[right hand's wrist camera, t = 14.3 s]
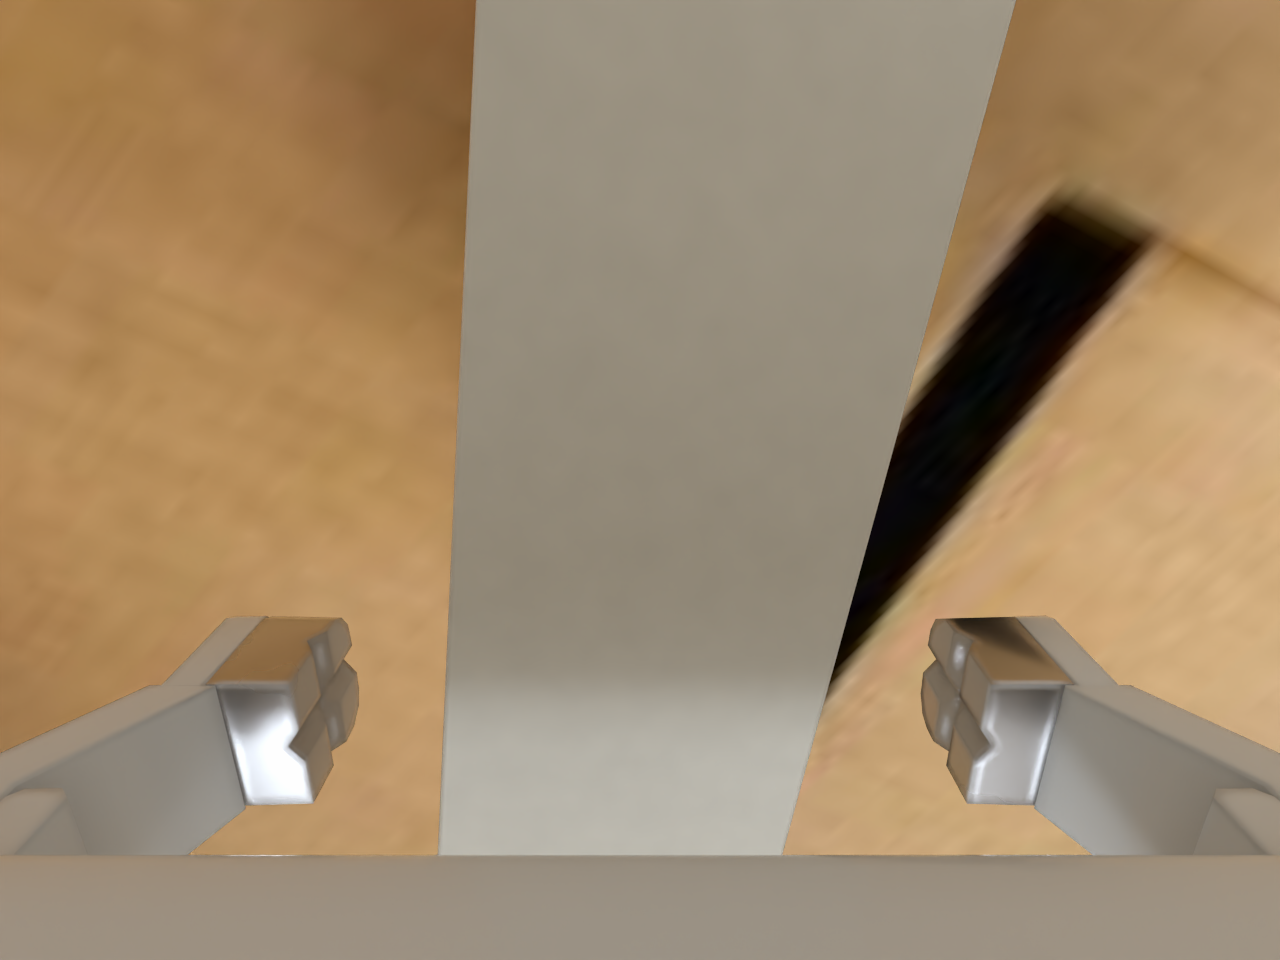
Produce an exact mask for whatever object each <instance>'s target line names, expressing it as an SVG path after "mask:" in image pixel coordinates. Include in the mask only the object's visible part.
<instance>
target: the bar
mask: <svg viewBox="0 0 1280 960" xmlns="http://www.w3.org/2000/svg"><path fill="white" fill-rule="evenodd" d="M1015 2H1016V0H476V12H475V35H474V57H473V79H472V102H471V124H470V146H469V168H468V191H467V213H466V235H465V258H464V280H463V302H462V325H461V347H460V369H459V391H458V414H457V436H456V458H455V481H454V503H453V525H452V548H451V570H450V592H449V614H448V637H447V659H446V681H445V704H444V726H443V748H442V771H441V793H440V815H439V837H438V855H782V854H783V850H784V846H785V843H786V839H787V835H788V832H789V828H790V824H791V821H792V817H793V813H794V810H795V806H796V803H797V799H798V795H799V792H800V788H801V784H802V781H803V777H804V773H805V770H806V766H807V762H808V759H809V755H810V751H811V748H812V744H813V740H814V737H815V733H816V729H817V726H818V722H819V718H820V715H821V711H822V708H823V704H824V700H825V697H826V693H827V689H828V686H829V682H830V678H831V675H832V671H833V667H834V664H835V660H836V656H837V653H838V649H839V645H840V642H841V638H842V634H843V631H844V627H845V623H846V620H847V616H848V613H849V609H850V605H851V602H852V598H853V594H854V591H855V587H856V583H857V580H858V576H859V572H860V569H861V565H862V561H863V558H864V554H865V550H866V547H867V543H868V539H869V536H870V532H871V528H872V525H873V521H874V517H875V514H876V510H877V507H878V503H879V499H880V496H881V492H882V488H883V485H884V481H885V477H886V474H887V470H888V466H889V463H890V459H891V455H892V452H893V448H894V444H895V441H896V437H897V433H898V430H899V426H900V422H901V419H902V415H903V412H904V408H905V404H906V401H907V397H908V393H909V390H910V386H911V382H912V379H913V375H914V371H915V368H916V364H917V360H918V357H919V353H920V349H921V346H922V342H923V338H924V335H925V331H926V327H927V324H928V320H929V317H930V313H931V309H932V306H933V302H934V298H935V295H936V291H937V287H938V284H939V280H940V276H941V273H942V269H943V265H944V262H945V258H946V254H947V251H948V247H949V243H950V240H951V236H952V232H953V229H954V225H955V222H956V218H957V214H958V211H959V207H960V203H961V200H962V196H963V192H964V189H965V185H966V181H967V178H968V174H969V170H970V167H971V163H972V159H973V156H974V152H975V148H976V145H977V141H978V137H979V134H980V130H981V127H982V123H983V119H984V116H985V112H986V108H987V105H988V101H989V97H990V94H991V90H992V86H993V83H994V79H995V75H996V72H997V68H998V64H999V61H1000V57H1001V53H1002V50H1003V46H1004V42H1005V39H1006V35H1007V32H1008V28H1009V24H1010V21H1011V17H1012V13H1013V10H1014V6H1015Z"/></svg>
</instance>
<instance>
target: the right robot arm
mask: <svg viewBox="0 0 1280 960" xmlns="http://www.w3.org/2000/svg"><path fill="white" fill-rule="evenodd" d="M351 646H352V643H351V638H350V633H349V628H348V624H347V623H346V622H345V621H344V620H343V619H342V618H328V617H277V616H272V617H268V616H235V617H231V618H226V619H225V620H224V621H223V622H222V623H221V624H220V625H219V626H218V627H217V628H216V629H215V631H214V632H213V633H212V634H211V635H210V636H209V637H208V638H207V639H206V640H205V641H204V642H203V643H202V644H201V645H200V646H199V647H198V648H197V649H196V650H195V651H194V652H193V653H192V654H191V655H190V656H189V657H188V658H187V659H186V660H185V661H184V662H183V663H182V665H181V666H180V667H179V668H178V669H177V670H176V671H175V672H174V673H173V674H172V675H171V676H170V677H169V678H168V679H167V680H166V681H165V682H164V683H163V684H162V685H149V686H147V687H145V688H142V689H140V690H138V691H136V692H134V693H131V694H129V695H127V696H125V697H123V698H120V699H118V700H116V701H114V702H112V703H109V704H107V705H105V706H103V707H101V708H98V709H96V710H94V711H92V712H90V713H87V714H85V715H83V716H81V717H79V718H76V719H74V720H72V721H70V722H68V723H65V724H63V725H61V726H59V727H57V728H54V729H52V730H50V731H48V732H46V733H43V734H41V735H39V736H37V737H35V738H32V739H30V740H28V741H26V742H24V743H21V744H19V745H17V746H15V747H13V748H10V749H8V750H6V751H4V752H2V753H0V960H1280V753H1278V752H1276V751H1274V750H1271V749H1269V748H1267V747H1265V746H1263V745H1260V744H1258V743H1256V742H1254V741H1252V740H1249V739H1247V738H1245V737H1243V736H1241V735H1238V734H1236V733H1234V732H1232V731H1230V730H1227V729H1225V728H1223V727H1221V726H1219V725H1217V724H1214V723H1212V722H1210V721H1208V720H1206V719H1203V718H1201V717H1199V716H1197V715H1195V714H1192V713H1190V712H1188V711H1186V710H1184V709H1181V708H1179V707H1177V706H1175V705H1173V704H1170V703H1168V702H1166V701H1164V700H1162V699H1160V698H1157V697H1155V696H1153V695H1151V694H1149V693H1146V692H1144V691H1142V690H1140V689H1138V688H1135V687H1133V686H1131V685H1118V684H1117V683H1116V682H1115V681H1114V680H1113V679H1112V678H1111V677H1110V676H1109V675H1108V674H1107V673H1106V672H1105V671H1104V670H1103V669H1102V668H1101V666H1100V665H1099V664H1098V663H1097V662H1096V661H1095V660H1094V659H1093V658H1092V657H1091V656H1090V655H1089V654H1088V653H1087V652H1086V651H1085V650H1084V649H1083V648H1082V647H1081V646H1080V645H1079V644H1078V643H1077V642H1076V641H1075V640H1074V639H1073V638H1072V637H1071V635H1070V634H1069V633H1068V632H1067V631H1066V630H1065V629H1064V628H1063V627H1062V626H1061V625H1060V624H1059V623H1058V622H1057V621H1056V620H1055V619H1053V618H1050V617H1048V616H1021V617H992V618H952V619H936V620H935V622H934V624H933V626H932V628H931V631H930V637H929V642H928V646H929V648H930V649H931V651H932V653H933V654H934V656H935V657H936V660H935V661H934V662H933V663H932V664H931V665H930V666H929V667H928V668H927V669H926V670H925V671H924V672H923V680H922V688H921V701H922V713H923V716H924V720H925V723H926V727H927V729H928V731H929V733H930V735H931V737H932V739H933V741H934V742H936V743H937V744H939V745H940V746H942V747H943V748H945V749H946V750H948V751H949V753H948V759H947V765H946V766H947V767H948V769H949V771H950V773H951V775H952V777H953V779H954V780H955V782H956V784H957V786H958V788H959V790H960V792H961V793H962V795H963V797H964V799H965V801H966V803H968V804H1005V805H1035V807H1034V809H1036V810H1037V811H1038V812H1039V813H1041V814H1042V815H1043V816H1044V817H1046V818H1047V819H1048V820H1049V821H1051V822H1052V823H1053V824H1055V825H1056V826H1057V827H1058V828H1060V829H1061V830H1062V831H1063V832H1065V833H1066V834H1067V835H1068V836H1070V837H1071V838H1072V839H1073V840H1075V841H1076V842H1077V843H1078V844H1080V845H1081V846H1082V847H1083V848H1085V849H1086V850H1087V851H1088V852H1090V853H1091V854H1092V855H188V854H189V853H191V852H192V851H193V850H194V849H196V848H197V847H198V846H199V845H201V844H202V843H203V842H204V841H206V840H207V839H208V838H209V837H211V836H212V835H213V834H214V833H216V832H217V831H218V830H219V829H221V828H222V827H223V826H225V825H226V824H227V823H228V822H230V821H231V820H232V819H233V818H235V817H236V816H237V815H238V814H240V813H241V812H242V811H243V810H245V808H246V807H245V805H274V804H310V803H314V801H315V799H316V797H317V795H318V793H319V792H320V790H321V788H322V786H323V784H324V782H325V780H326V779H327V777H328V775H329V773H330V771H331V769H332V767H333V766H334V765H333V759H332V753H331V751H332V750H334V749H335V748H337V747H338V746H340V745H341V744H343V743H344V742H346V741H347V739H348V737H349V735H350V733H351V731H352V729H353V727H354V724H355V719H356V715H357V710H358V706H359V685H358V679H357V672H356V671H355V670H354V669H353V668H352V667H351V666H350V665H349V664H348V663H347V662H346V661H345V660H344V657H345V656H346V654H347V653H348V651H349V649H350V648H351Z"/></svg>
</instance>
